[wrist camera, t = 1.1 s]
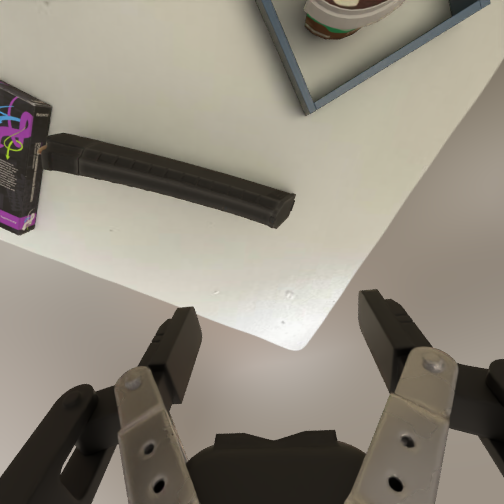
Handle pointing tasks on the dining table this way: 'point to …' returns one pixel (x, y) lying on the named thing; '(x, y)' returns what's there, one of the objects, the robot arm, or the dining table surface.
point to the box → (20, 157)
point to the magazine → (166, 177)
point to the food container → (345, 15)
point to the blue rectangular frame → (462, 6)
